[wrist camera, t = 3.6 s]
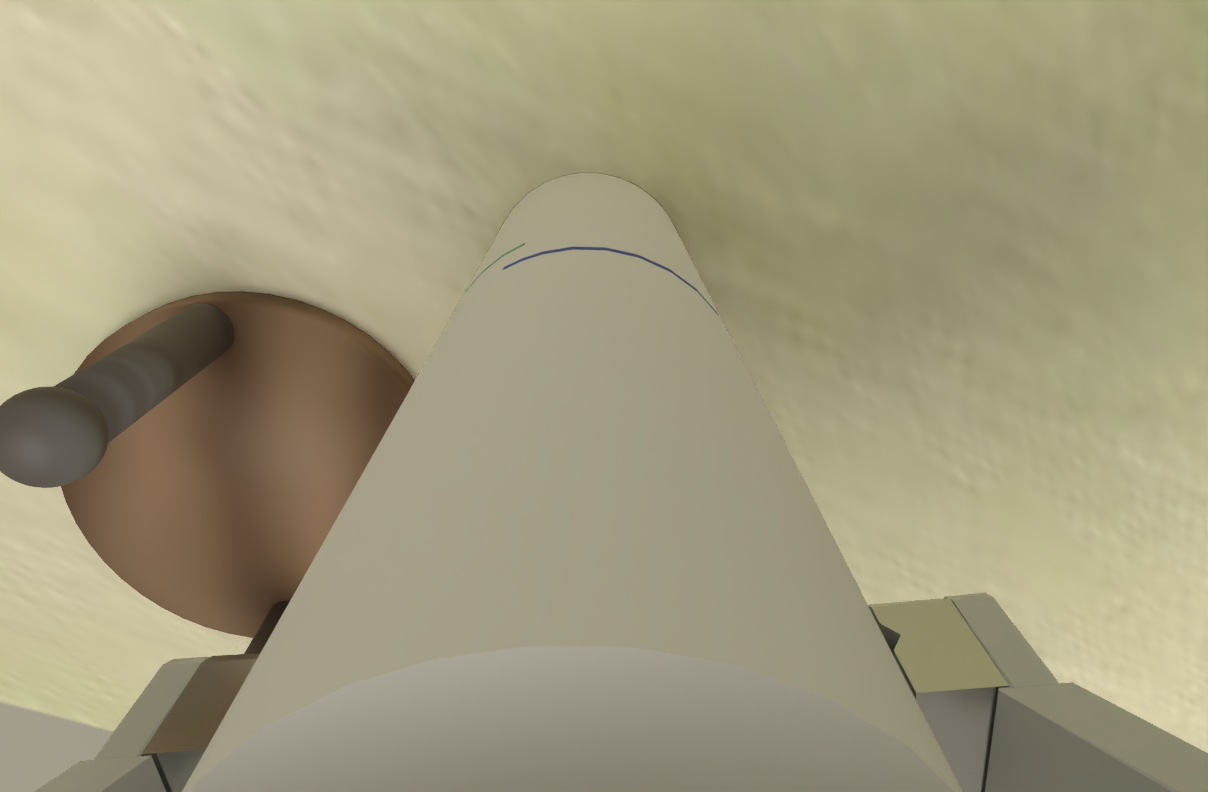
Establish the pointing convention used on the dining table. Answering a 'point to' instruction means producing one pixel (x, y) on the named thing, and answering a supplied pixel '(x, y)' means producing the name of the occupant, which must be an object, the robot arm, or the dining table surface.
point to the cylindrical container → (578, 560)
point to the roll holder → (211, 449)
